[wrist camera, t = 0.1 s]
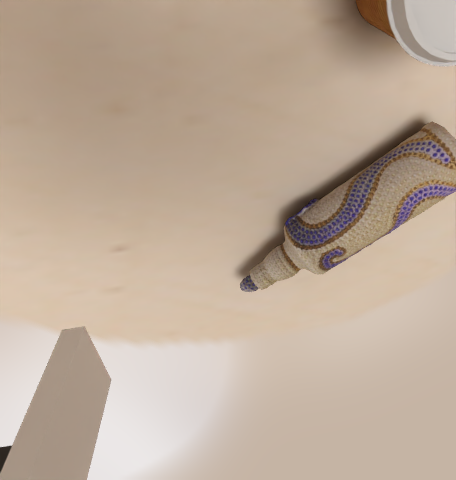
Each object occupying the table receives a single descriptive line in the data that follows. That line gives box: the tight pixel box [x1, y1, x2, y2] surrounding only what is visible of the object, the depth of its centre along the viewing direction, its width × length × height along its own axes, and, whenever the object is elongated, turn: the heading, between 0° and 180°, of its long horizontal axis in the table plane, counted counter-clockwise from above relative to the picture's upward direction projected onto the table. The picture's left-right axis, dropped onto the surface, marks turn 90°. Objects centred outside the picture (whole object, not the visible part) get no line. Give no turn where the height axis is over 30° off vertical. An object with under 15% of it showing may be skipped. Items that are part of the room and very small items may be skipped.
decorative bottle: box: [240, 121, 456, 292], centre depth 40 cm, size 26×8×7 cm, turn 129°
